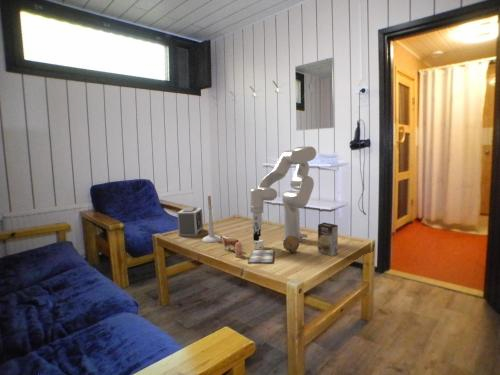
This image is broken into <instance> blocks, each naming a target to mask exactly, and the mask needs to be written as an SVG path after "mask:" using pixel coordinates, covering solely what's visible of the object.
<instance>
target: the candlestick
mask: <svg viewBox="0 0 500 375" xmlns="http://www.w3.org/2000/svg"><path fill="white" fill-rule="evenodd" d="M212 208H213V205H212V195H207V209H208V235H206V236H204V237H203V238H202V239H201V241H202V242H203V243H207V244H211V243H218V242H220V241H222V238H221V237H222V236H220V235H216V234H215V230H214V229H215V228H214V221H213V212H212Z"/></svg>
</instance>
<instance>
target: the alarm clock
mask: <svg viewBox="0 0 500 375" xmlns="http://www.w3.org/2000/svg"><path fill="white" fill-rule="evenodd" d="M176 216H177V227H178V229H177V230H178V237H197V236H198V235H199V232H202V231H204V222H203V221H204V220H203V218H204V217H203V208H201V207H200V208H199V207H184V208H183V209H181V210H179V211H178V212H177V215H176Z"/></svg>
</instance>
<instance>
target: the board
mask: <svg viewBox="0 0 500 375" xmlns="http://www.w3.org/2000/svg"><path fill="white" fill-rule="evenodd" d="M274 259H275V250H273V249H271V250H269V249H266V250H265V249H263V250H253V249H252V250H251V252H250V255H249V259H248V262H247V264H274V262H275V260H274Z"/></svg>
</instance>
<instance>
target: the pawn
mask: <svg viewBox="0 0 500 375" xmlns="http://www.w3.org/2000/svg"><path fill="white" fill-rule="evenodd" d="M234 249H235V250H234V251H235V252H234V257H236V258H243V257H244V253H243V244H242V242H240V241H239V242H237V243H236V244H235V247H234Z"/></svg>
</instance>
